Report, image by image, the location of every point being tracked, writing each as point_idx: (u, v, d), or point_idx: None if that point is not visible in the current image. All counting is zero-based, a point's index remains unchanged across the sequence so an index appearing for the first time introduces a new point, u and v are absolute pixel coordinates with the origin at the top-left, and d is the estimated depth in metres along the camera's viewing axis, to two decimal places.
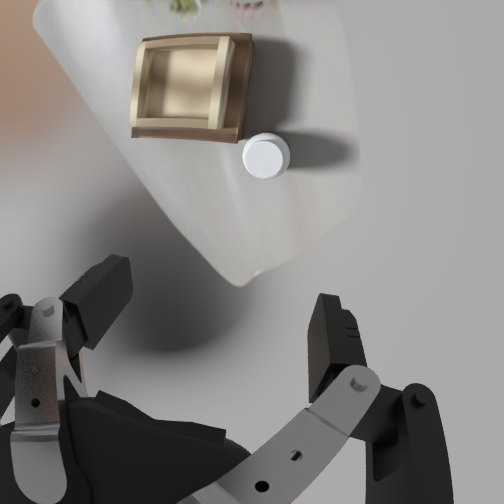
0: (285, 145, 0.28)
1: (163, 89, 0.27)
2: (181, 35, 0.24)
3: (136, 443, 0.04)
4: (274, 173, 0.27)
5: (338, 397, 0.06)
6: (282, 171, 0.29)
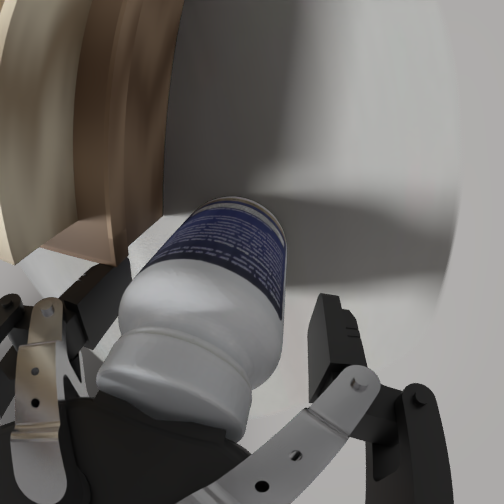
0: (263, 324, 0.07)
1: None
2: None
3: (136, 443, 0.04)
4: None
5: (338, 397, 0.06)
6: (252, 389, 0.08)
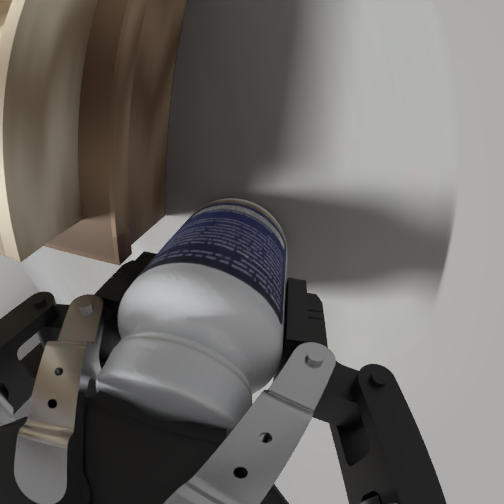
0: (263, 328, 0.07)
1: None
2: None
3: (136, 443, 0.04)
4: None
5: (289, 370, 0.06)
6: (253, 392, 0.08)
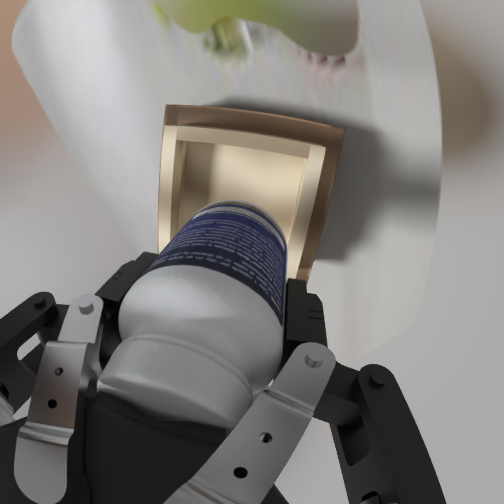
0: (264, 330, 0.07)
1: (205, 204, 0.22)
2: (232, 111, 0.19)
3: (136, 443, 0.04)
4: None
5: (289, 370, 0.06)
6: (253, 394, 0.08)
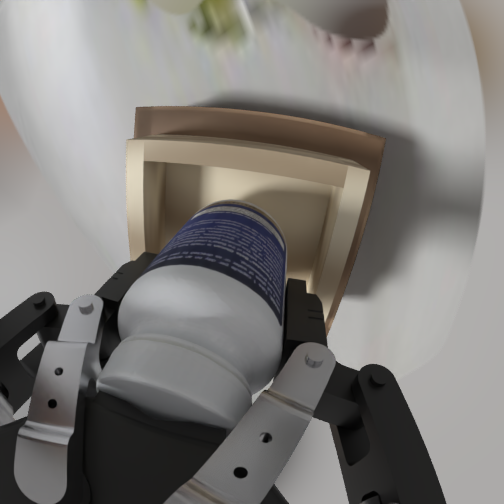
0: (263, 330, 0.07)
1: None
2: (227, 112, 0.13)
3: (136, 443, 0.04)
4: None
5: (289, 370, 0.06)
6: (252, 393, 0.08)
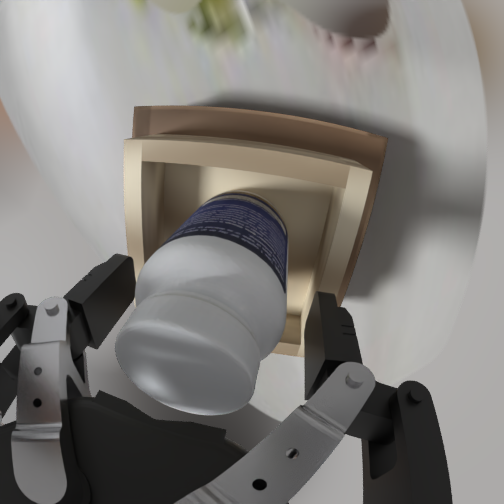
0: (270, 292, 0.08)
1: None
2: (226, 111, 0.13)
3: (136, 443, 0.04)
4: (223, 411, 0.07)
5: (332, 394, 0.06)
6: None
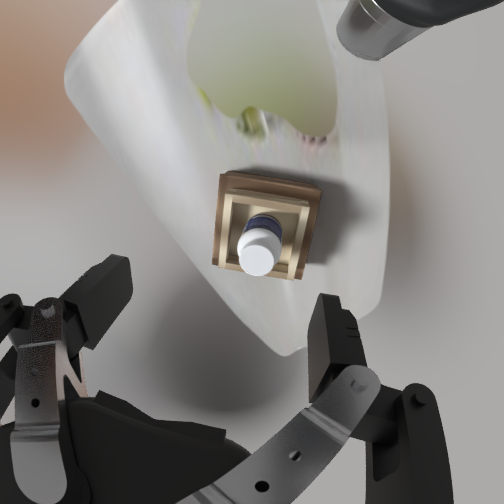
0: (277, 242, 0.32)
1: None
2: (259, 181, 0.37)
3: (136, 443, 0.04)
4: (266, 273, 0.31)
5: (338, 397, 0.06)
6: (273, 264, 0.33)
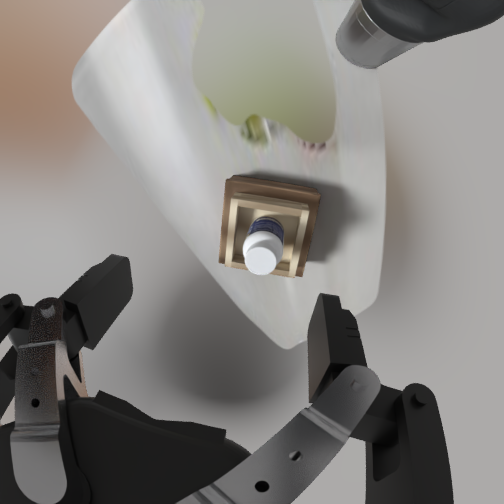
0: (279, 243, 0.35)
1: None
2: (262, 186, 0.40)
3: (136, 443, 0.04)
4: (269, 272, 0.34)
5: (338, 397, 0.06)
6: None
